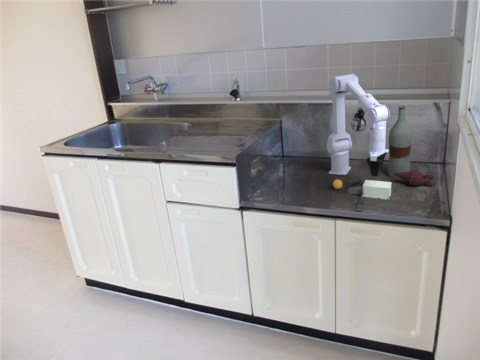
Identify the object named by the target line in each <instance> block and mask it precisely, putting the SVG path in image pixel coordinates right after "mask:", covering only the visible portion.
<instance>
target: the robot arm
mask: <svg viewBox="0 0 480 360" xmlns="http://www.w3.org/2000/svg"><path fill="white" fill-rule="evenodd" d="M348 93H350V94H351V95H352V96H353V97H354V98H356V100H357V104H358V106H359V107H360V108H361V109H362V111H363V112H364V113H365V115H366V120H367V126H368V128H369V136H368V137H369V142H368V143H369V146H368V147H369V148H368V153H369V155H370V157H367V158H366V163H367V164H368V167H369V170H370V174H371V177H375V178H376V177H377V178H378V176H379V173H380V170H382V169H383V165H384V161H385V158H386V156H387V154H388V153H389V148H388V149H387V148H386V143H387V142H386V139H387V137H386V136H387V135H386V134H387V121H388V120H389V119H390V117H391V111H390V109H389V106H387V104H382V103H379V101H378V100H377V99H376V98H375V97H374V96H373V95H372V94H371V93H366V92H365V90H364V89H363V87H361V86H360V83H359V77H357V75H356V74H355V73H349V74H345V75H338V76H335V75H334V76H332V77H331V78H330V80H329V95H330V96H331V101H332V102H331V103H332V104H331V105H332V130H333V131H332V133H330V135H328V137H327V143H326V150H327V152H328V153H329V155H330V159H331V160H330V167H331V169H330V170H329V171H328V174H329V175H339V176H347V174H348V173H349V172H350V170H351V169H352V166H350V155H349V153H350V151H351V150H352V148H353V142H352V138H351V135H350V134H349V133H348V132H347V131H346V108H345V107H346V104H345V97H346V96H347V94H348Z"/></svg>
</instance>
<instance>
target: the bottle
mask: <svg viewBox="0 0 480 360" xmlns="http://www.w3.org/2000/svg"><path fill="white" fill-rule="evenodd" d="M412 141H413V131H412V128H411V127H410V125H409V124H408V123H407V121H406V106H405V105H399V106H398V112H397V120H396V122H395V123H394V124H393V126H392V127H391V128H390V130H389V133H388V150H389V152H388V153H389V155H388V161H387V173H388V176H389V177H390V178H393V179H398V180H399V179H401V178H400V177H398V176H396V175H394V173H400V172H409V171H410V170H411V159H410V157H411V147H412Z"/></svg>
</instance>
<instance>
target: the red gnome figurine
mask: <svg viewBox="0 0 480 360" xmlns="http://www.w3.org/2000/svg"><path fill="white" fill-rule="evenodd" d="M394 175H396V176H398V177H400V178H401V179H402V180H404V181H405V182H407V183H408V184H409V186H415V187H416V186H419V185H421V184H422V185H424V186H426V187H432V186H433V183H432V181H433V179H435V176H434V174H432V173H427V174H424V173H423V172H422V171H420V170H418V169H415V168H413V170H411V171H409V172H400V173H394Z"/></svg>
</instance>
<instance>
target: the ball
mask: <svg viewBox="0 0 480 360" xmlns="http://www.w3.org/2000/svg"><path fill="white" fill-rule="evenodd" d="M343 184H344V183H343V181H342V180H341V179H334V180H333V182H332V186H333V188H334V189H335V190H340V189H342V188H343Z"/></svg>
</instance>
